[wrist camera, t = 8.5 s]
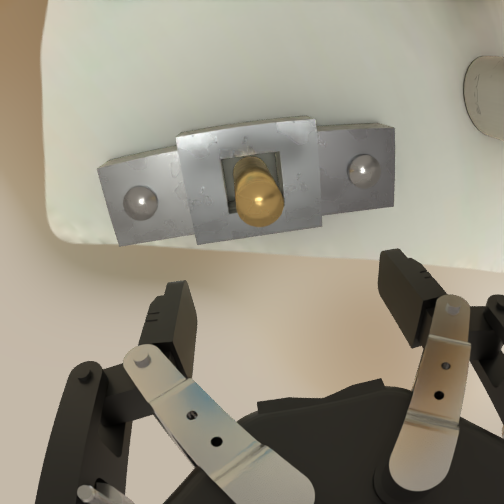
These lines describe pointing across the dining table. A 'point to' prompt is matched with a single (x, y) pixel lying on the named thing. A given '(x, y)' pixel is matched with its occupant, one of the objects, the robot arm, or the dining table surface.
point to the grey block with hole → (242, 144)
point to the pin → (256, 193)
